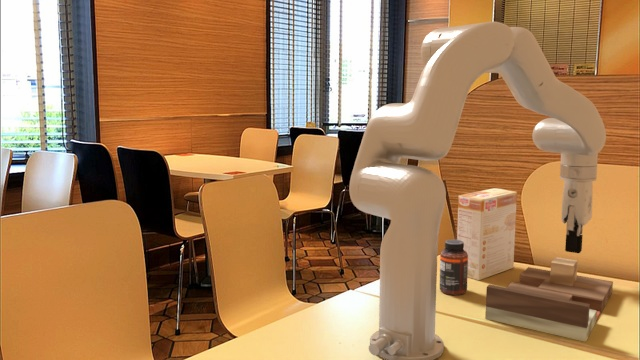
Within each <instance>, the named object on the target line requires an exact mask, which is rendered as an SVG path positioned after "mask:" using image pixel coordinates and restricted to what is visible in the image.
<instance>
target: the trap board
mask: <svg viewBox="0 0 640 360" xmlns="http://www.w3.org/2000/svg"><path fill="white" fill-rule="evenodd" d="M550 271H551V270H547V269H544V268H543V269H542V268H536V267H530V266H528V267H527V268H526V269H524V271H523V272H521V274H520V275H519V282H513V281H512V282H510V283H509V284H508V285H507V286H506V287H505V286H499V285H495V284H494V285H493V284H488V285H487V286H486V292H485V293H486V294H485V298H486V299H485V300H486V301H485V314H484V315H485V317H484V320H490V321H493V322H498V323H502V324H507V325H512V326H515V327H519V328H525V329H529V330H532V331H537V332H541V333H546V334H551V335H555V336H559V337H563V338H566V339H567V338H568V339H571V340H576V341H580V342H585V343H586V342H587V340H588V338H589V337H590V334H591V333H592V331H593V329H594V327H595V325H596V322H597V319H598V318H599V316H600V314H601V313H602V312H603V311H604V309H605V306H606V304H608V303H607V302H608V301H609V299H610V297H611V295H612V294H611V293H613V286H614V285H613V284H614V281H613V280H606V279H602V278H595V277H588V276H582V275H578V274H577V277H576V281H575V283H574V284H573V285H572V286H568V285H563V284H557V283H552V282H550Z"/></svg>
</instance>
